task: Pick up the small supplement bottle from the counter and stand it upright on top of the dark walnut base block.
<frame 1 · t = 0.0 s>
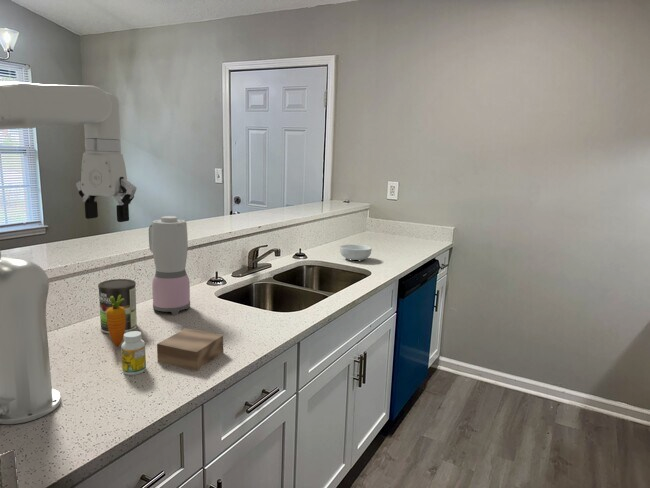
hand: (107, 219, 109), 37 cm above the worktop, tool pointing down, fingers open, 9 cm apart
blender: (168, 308, 157), on the worktop
carrot: (117, 347, 125), on the worktop
supplement bottle: (134, 371, 112), on the worktop
food can: (119, 328, 138), on the worktop
cereal bowl: (355, 260, 243), on the worktop
walnut base: (191, 357, 120), on the worktop
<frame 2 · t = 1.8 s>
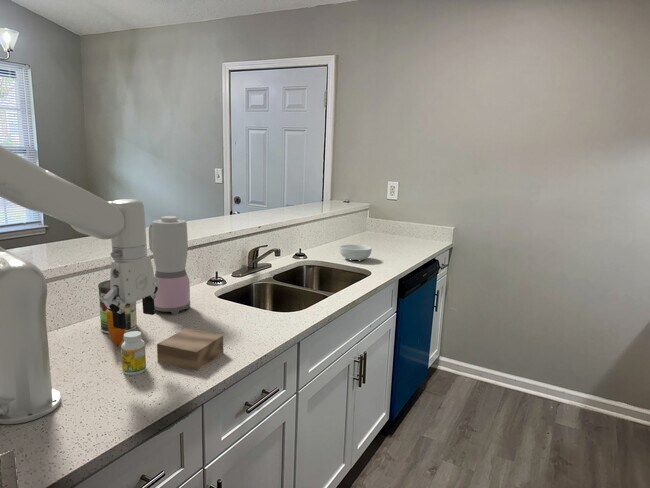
hand: (135, 320, 110), 13 cm above the worktop, tool pointing down, fingers open, 9 cm apart
nothing on the worktop moved.
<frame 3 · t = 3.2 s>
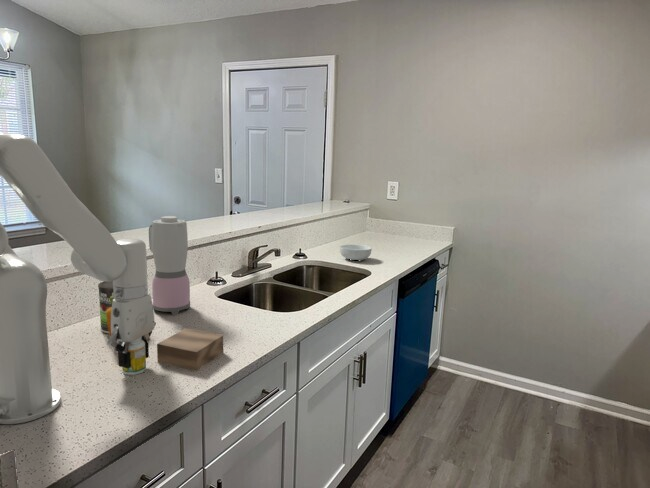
hand: (134, 361, 111), 2 cm above the worktop, tool pointing down, fingers closed on supplement bottle, 5 cm apart
supplement bottle: (134, 371, 112), on the worktop, touching gripper
everything else where it was.
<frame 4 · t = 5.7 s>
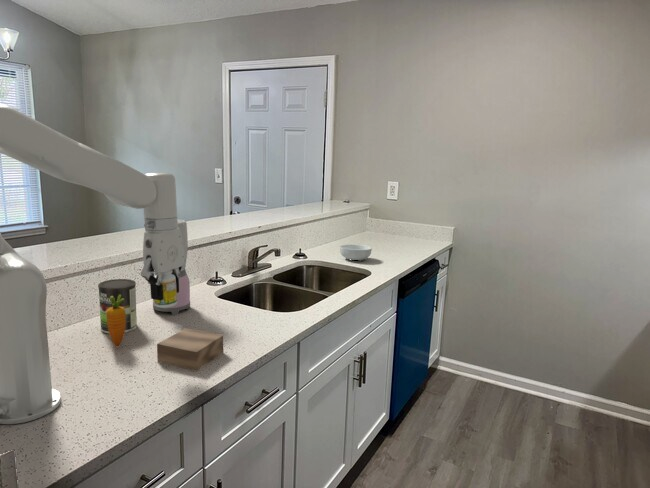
hand: (165, 294, 113), 18 cm above the worktop, tool pointing down, fingers closed on supplement bottle, 5 cm apart
supplement bottle: (165, 305, 114), point 15 cm above the worktop, touching gripper
everything else where it was.
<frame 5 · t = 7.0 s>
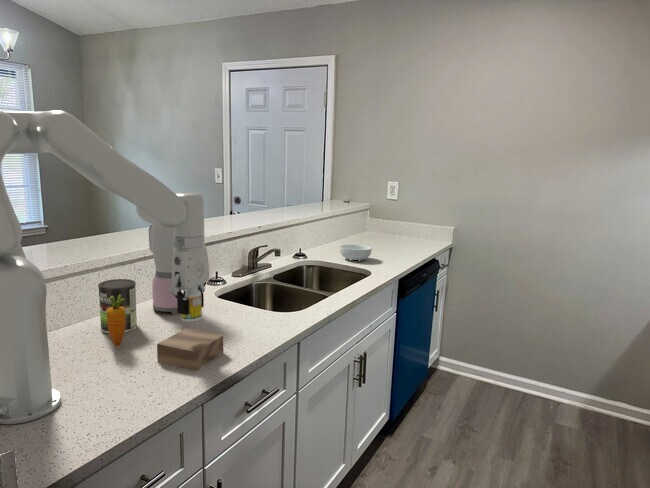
hand: (190, 309, 118), 13 cm above the worktop, tool pointing down, fingers closed on supplement bottle, 5 cm apart
supplement bottle: (191, 319, 118), point 11 cm above the worktop, touching gripper
everything else where it was.
when the fingers open (9 cm above the worktop, at t = 8.1 s): supplement bottle drops 1 cm, resting on walnut base.
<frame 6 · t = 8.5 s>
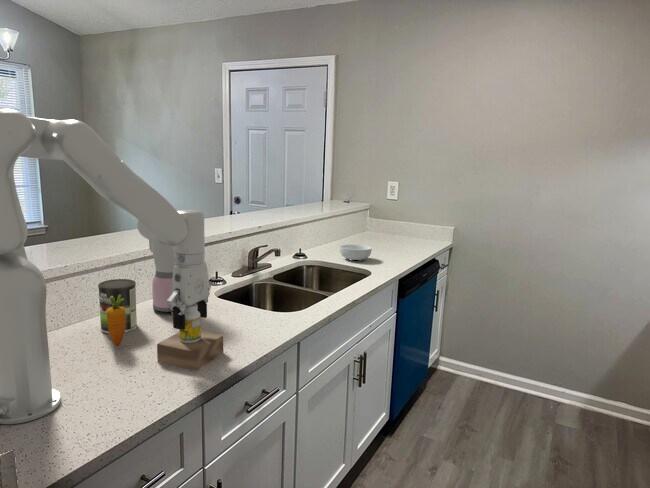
hand: (190, 322, 119), 10 cm above the worktop, tool pointing down, fingers open, 9 cm apart
supplement bottle: (190, 340, 119), point 5 cm above the worktop, touching walnut base
everything else where it was.
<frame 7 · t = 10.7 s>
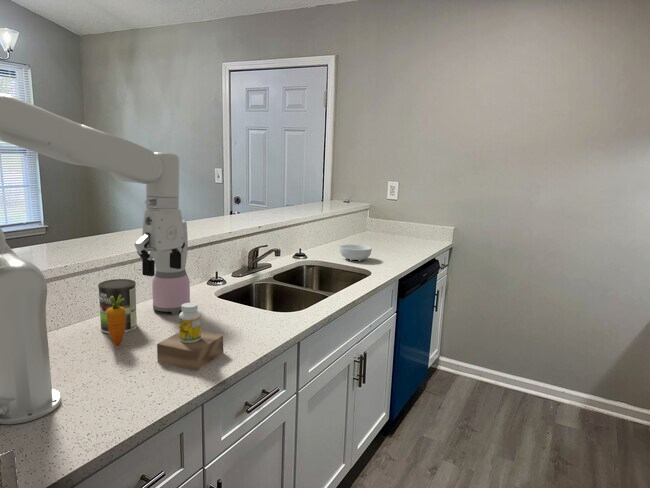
hand: (162, 271, 114), 24 cm above the worktop, tool pointing down, fingers open, 9 cm apart
nothing on the worktop moved.
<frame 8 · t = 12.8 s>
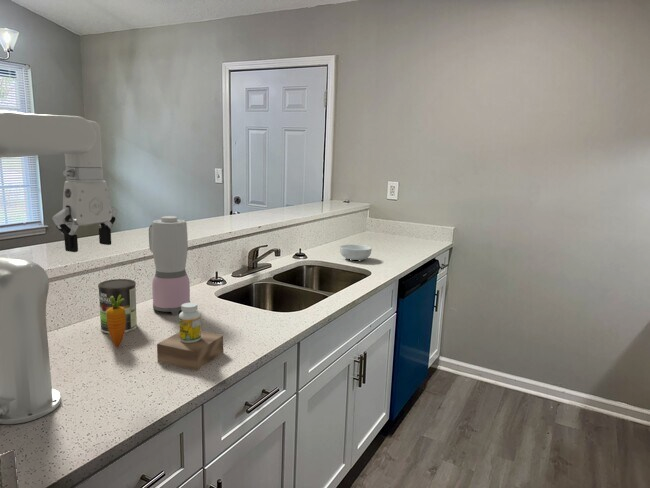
hand: (89, 247, 108), 30 cm above the worktop, tool pointing down, fingers open, 9 cm apart
nothing on the worktop moved.
at the end: supplement bottle inside the target area on the walnut base (0.2 cm from its centre), point 4.8 cm above the walnut base's base; supplement bottle tilted 0°; the gripper is holding nothing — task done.
